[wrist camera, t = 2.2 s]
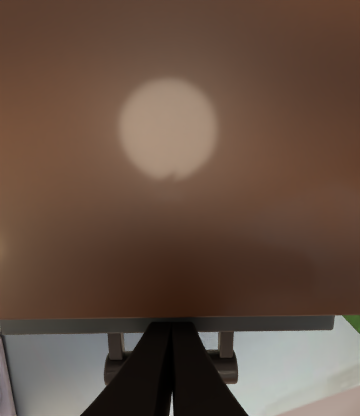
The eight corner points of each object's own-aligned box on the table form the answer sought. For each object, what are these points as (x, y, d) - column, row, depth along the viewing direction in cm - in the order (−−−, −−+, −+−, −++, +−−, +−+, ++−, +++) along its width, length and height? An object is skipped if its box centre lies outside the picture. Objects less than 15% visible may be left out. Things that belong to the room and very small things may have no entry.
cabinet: (273, 225, 16) (377, 316, 8) (68, 227, 16) (-48, 321, 8) (296, -61, 13) (523, -441, 4) (37, -62, 13) (-231, -456, 4)
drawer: (261, 324, 17) (316, 444, 10) (83, 327, 17) (22, 450, 10) (287, -15, 12) (412, -190, 6) (47, -15, 12) (-101, -194, 6)
